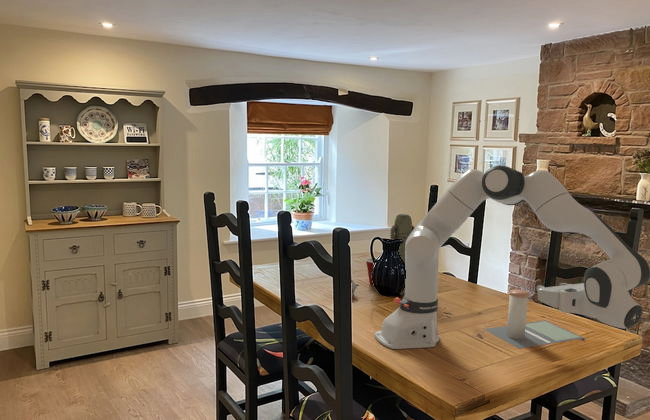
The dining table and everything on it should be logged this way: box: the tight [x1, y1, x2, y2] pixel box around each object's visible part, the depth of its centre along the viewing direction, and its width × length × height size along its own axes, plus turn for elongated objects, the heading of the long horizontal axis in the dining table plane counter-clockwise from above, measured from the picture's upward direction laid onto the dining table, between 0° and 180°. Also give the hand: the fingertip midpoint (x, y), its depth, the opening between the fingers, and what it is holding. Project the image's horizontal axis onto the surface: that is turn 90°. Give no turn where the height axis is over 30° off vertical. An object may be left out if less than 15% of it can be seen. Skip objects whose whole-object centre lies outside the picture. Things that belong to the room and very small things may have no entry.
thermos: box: [389, 213, 415, 296], centre depth 229 cm, size 9×12×35 cm
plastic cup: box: [365, 257, 373, 286], centre depth 241 cm, size 11×11×12 cm
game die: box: [350, 276, 360, 296], centre depth 223 cm, size 9×8×10 cm
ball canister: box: [506, 289, 530, 339], centre depth 179 cm, size 6×6×16 cm
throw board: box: [483, 319, 585, 350], centre depth 183 cm, size 29×18×1 cm, turn 112°
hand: (549, 286), depth 165 cm, fingers open, 8 cm apart
